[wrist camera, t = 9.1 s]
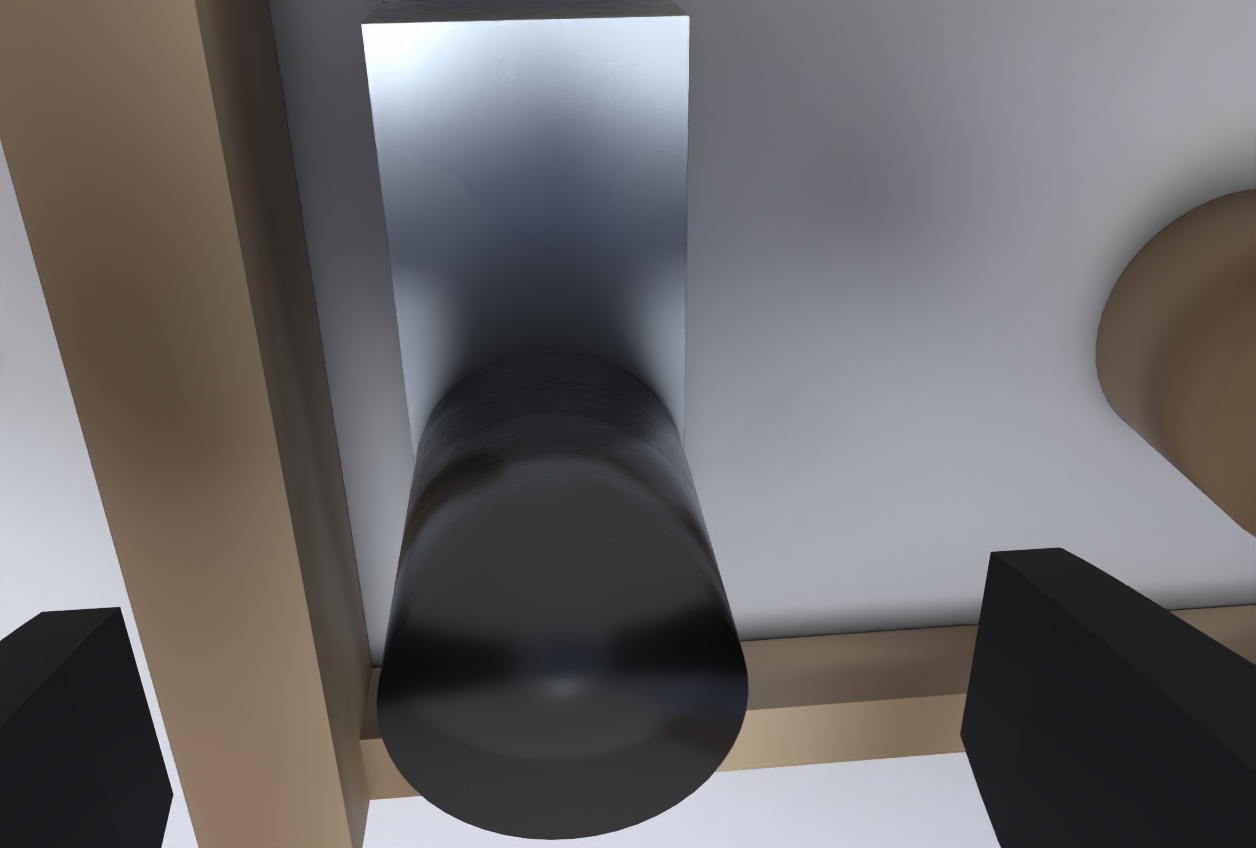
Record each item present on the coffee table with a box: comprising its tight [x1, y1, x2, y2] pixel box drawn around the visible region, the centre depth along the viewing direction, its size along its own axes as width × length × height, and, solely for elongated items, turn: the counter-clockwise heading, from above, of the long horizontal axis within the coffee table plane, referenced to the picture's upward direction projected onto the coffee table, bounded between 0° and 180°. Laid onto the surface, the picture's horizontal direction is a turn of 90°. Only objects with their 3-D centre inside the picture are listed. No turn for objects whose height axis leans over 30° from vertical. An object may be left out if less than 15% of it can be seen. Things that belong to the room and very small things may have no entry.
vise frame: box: [0, 0, 1256, 848], centre depth 14 cm, size 21×13×3 cm, turn 91°
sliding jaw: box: [361, 0, 749, 840], centre depth 12 cm, size 3×10×7 cm, turn 1°
